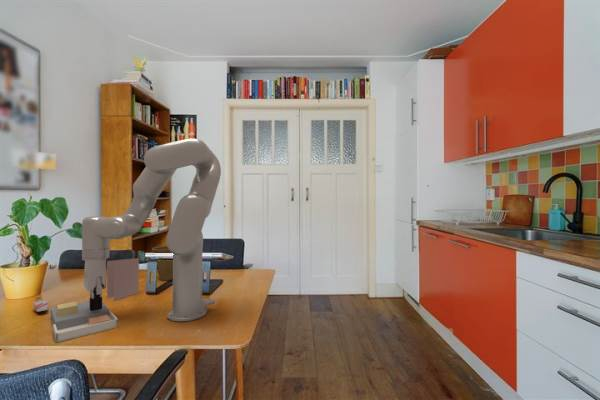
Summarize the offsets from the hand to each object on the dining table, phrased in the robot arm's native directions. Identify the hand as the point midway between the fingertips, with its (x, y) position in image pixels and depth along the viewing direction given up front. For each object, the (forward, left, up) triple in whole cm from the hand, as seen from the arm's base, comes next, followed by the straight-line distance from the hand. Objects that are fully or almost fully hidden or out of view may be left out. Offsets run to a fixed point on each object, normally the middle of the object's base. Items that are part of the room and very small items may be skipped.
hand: (95, 309), depth 98 cm
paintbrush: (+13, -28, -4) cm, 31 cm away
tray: (+4, +6, -4) cm, 8 cm away
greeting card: (-13, -21, -4) cm, 25 cm away
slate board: (+4, -6, -4) cm, 8 cm away
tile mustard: (+7, -5, -1) cm, 9 cm away
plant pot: (-37, -38, -4) cm, 53 cm away
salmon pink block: (0, +8, -1) cm, 8 cm away
